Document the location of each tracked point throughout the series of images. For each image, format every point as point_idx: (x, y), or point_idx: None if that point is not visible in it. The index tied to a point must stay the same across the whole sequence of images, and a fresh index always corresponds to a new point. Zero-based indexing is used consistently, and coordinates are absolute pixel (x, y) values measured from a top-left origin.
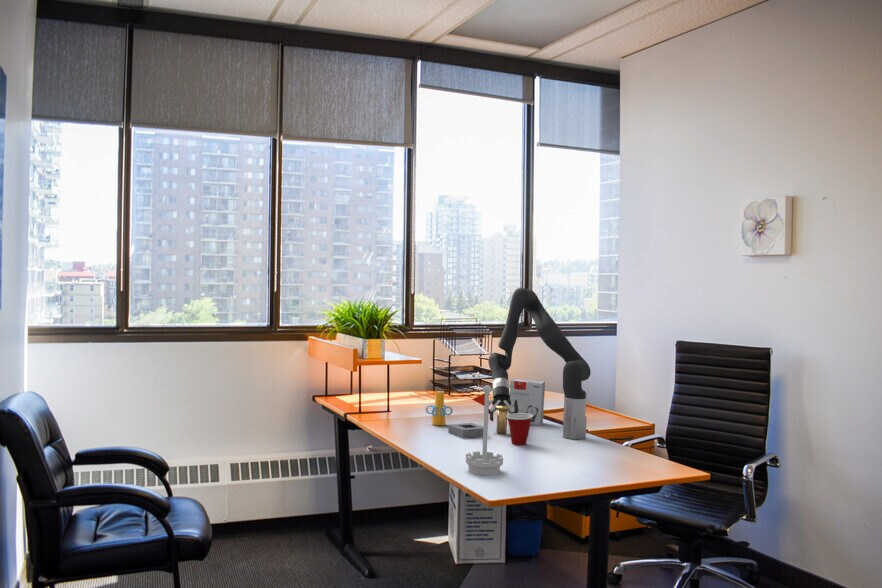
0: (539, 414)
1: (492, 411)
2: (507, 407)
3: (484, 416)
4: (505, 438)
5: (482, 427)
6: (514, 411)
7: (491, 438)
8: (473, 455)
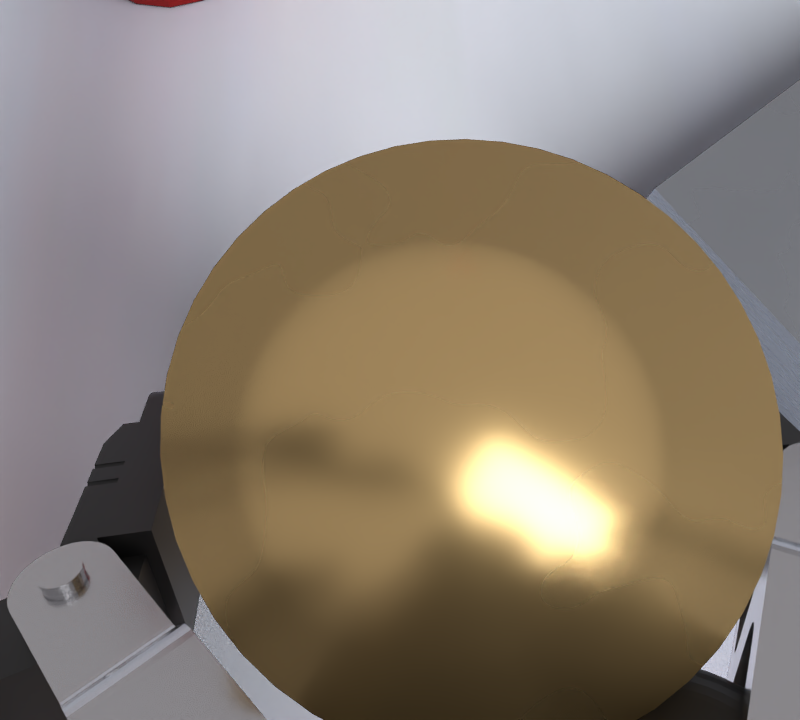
0: None
1: None
2: (252, 229)
3: None
4: None
5: (740, 209)
6: (10, 631)
7: (528, 136)
8: None
